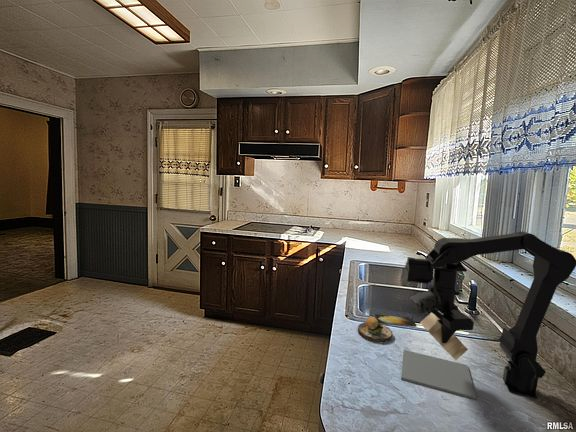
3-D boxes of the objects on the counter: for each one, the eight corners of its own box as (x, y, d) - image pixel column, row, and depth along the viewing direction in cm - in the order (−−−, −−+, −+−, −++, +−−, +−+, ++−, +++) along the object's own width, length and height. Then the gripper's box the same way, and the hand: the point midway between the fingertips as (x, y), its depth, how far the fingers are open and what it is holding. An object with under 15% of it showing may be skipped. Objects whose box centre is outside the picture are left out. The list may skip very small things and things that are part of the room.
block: (458, 340, 90) (431, 312, 88) (468, 349, 86) (440, 319, 84) (446, 351, 90) (419, 322, 88) (455, 360, 86) (428, 330, 84)
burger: (393, 345, 104) (395, 324, 102) (357, 340, 106) (359, 319, 105) (389, 328, 115) (391, 309, 114) (357, 324, 117) (358, 305, 116)
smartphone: (417, 326, 117) (376, 322, 118) (417, 328, 117) (376, 324, 118) (411, 317, 124) (373, 314, 125) (411, 319, 124) (373, 315, 125)
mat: (467, 366, 93) (467, 364, 93) (475, 399, 79) (476, 397, 79) (403, 351, 100) (403, 349, 100) (401, 379, 86) (401, 377, 86)
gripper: (401, 273, 94) (397, 322, 96) (434, 298, 75) (428, 358, 77) (436, 273, 94) (432, 322, 97) (478, 298, 76) (471, 357, 78)
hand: (439, 338), depth 87 cm, fingers closed on block, 4 cm apart
